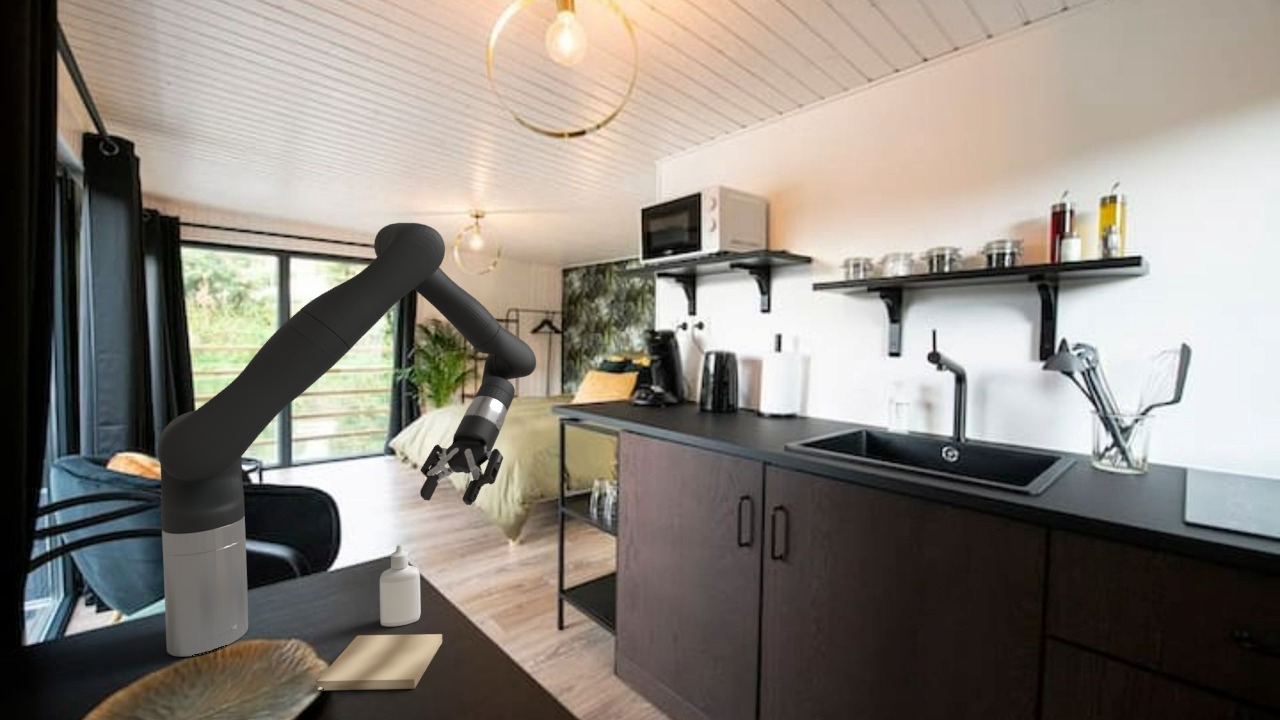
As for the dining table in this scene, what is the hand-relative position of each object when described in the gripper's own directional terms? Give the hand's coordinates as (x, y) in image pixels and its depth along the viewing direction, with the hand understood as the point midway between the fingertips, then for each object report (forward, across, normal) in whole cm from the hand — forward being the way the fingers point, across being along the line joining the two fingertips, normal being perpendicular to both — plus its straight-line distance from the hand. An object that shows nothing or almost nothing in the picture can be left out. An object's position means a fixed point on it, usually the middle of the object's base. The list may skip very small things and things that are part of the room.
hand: (445, 500), depth 92 cm
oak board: (+26, +6, -4) cm, 27 cm away
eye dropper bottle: (+19, 0, +3) cm, 19 cm away
